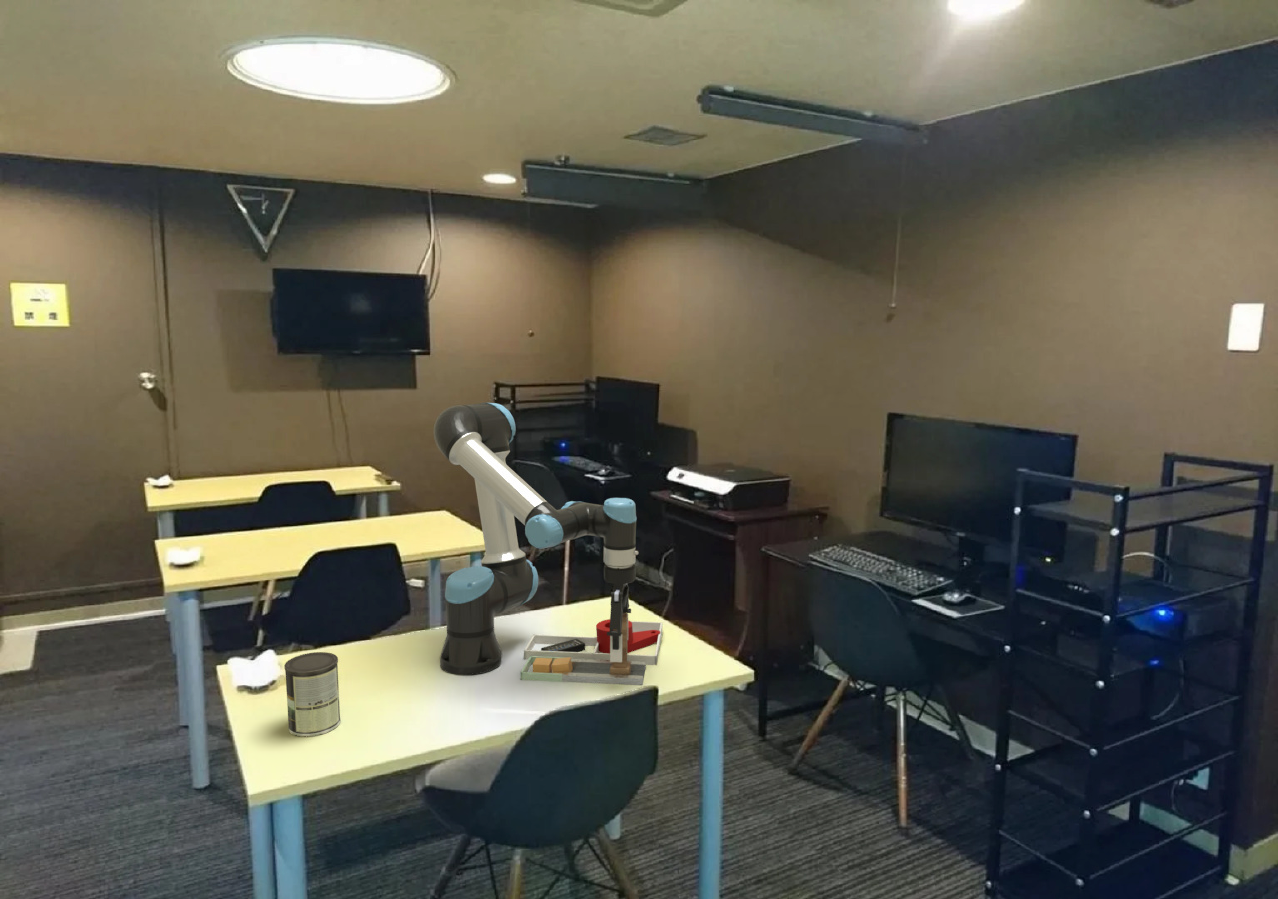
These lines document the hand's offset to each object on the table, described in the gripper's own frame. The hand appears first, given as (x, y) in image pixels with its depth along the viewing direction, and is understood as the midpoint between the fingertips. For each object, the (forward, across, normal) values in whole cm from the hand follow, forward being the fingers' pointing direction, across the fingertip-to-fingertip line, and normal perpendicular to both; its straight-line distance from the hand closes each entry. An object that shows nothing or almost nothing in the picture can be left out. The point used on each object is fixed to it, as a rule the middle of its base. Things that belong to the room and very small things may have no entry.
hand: (619, 650), depth 190 cm
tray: (+7, 0, +18) cm, 19 cm away
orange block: (+6, 0, +14) cm, 15 cm away
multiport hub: (+7, +12, +16) cm, 21 cm away
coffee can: (+7, -30, +61) cm, 68 cm away
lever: (+7, +19, -1) cm, 20 cm away
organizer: (+7, +19, +8) cm, 22 cm away
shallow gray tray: (+7, 0, +4) cm, 8 cm away
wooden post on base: (+6, 0, 0) cm, 6 cm away
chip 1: (+7, 0, +19) cm, 20 cm away
